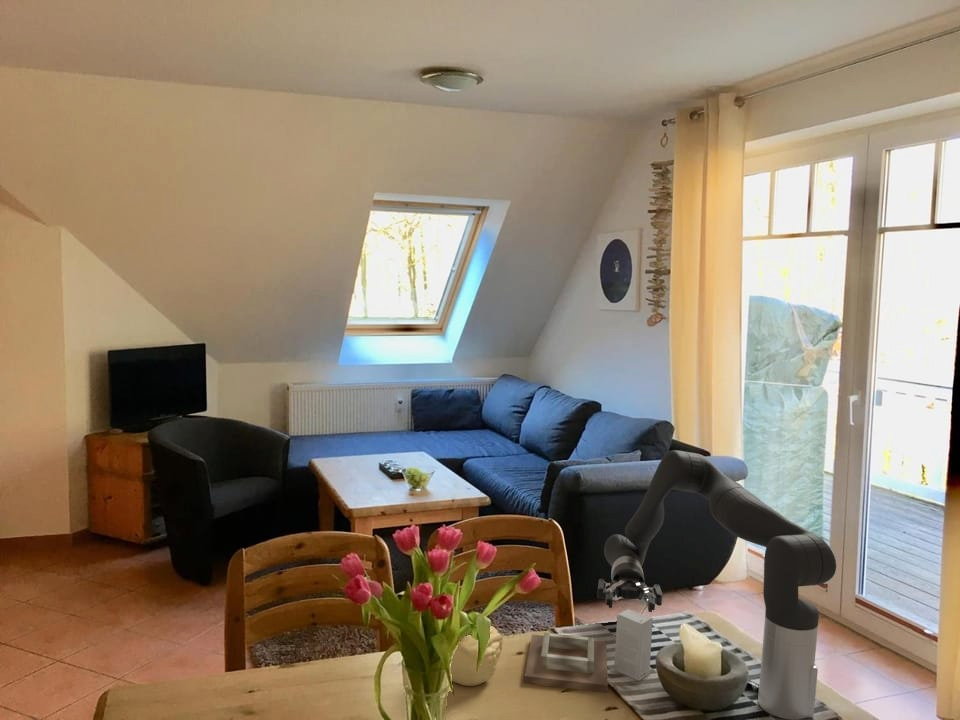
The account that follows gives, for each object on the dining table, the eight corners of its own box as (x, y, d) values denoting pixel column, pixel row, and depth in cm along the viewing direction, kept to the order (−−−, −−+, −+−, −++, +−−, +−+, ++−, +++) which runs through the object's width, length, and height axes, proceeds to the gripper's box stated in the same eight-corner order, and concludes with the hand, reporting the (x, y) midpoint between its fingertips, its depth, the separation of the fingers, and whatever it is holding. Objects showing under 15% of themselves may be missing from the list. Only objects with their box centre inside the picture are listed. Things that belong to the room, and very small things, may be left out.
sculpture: (479, 699, 146) (481, 644, 145) (427, 680, 152) (428, 627, 151) (509, 674, 155) (512, 622, 154) (459, 657, 162) (461, 607, 160)
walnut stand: (605, 648, 168) (606, 631, 167) (607, 692, 150) (608, 672, 150) (531, 641, 170) (532, 623, 169) (524, 683, 152) (525, 663, 152)
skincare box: (650, 674, 158) (654, 617, 156) (638, 681, 154) (642, 624, 153) (624, 663, 162) (628, 608, 160) (612, 670, 159) (616, 613, 157)
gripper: (598, 558, 186) (598, 586, 170) (659, 564, 184) (665, 592, 168) (596, 588, 187) (596, 618, 171) (656, 595, 185) (662, 625, 169)
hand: (630, 605), depth 169 cm, fingers open, 8 cm apart
